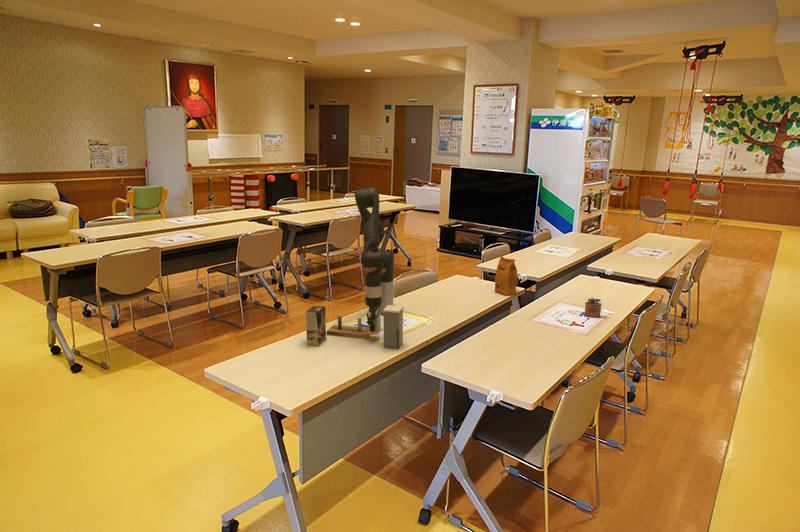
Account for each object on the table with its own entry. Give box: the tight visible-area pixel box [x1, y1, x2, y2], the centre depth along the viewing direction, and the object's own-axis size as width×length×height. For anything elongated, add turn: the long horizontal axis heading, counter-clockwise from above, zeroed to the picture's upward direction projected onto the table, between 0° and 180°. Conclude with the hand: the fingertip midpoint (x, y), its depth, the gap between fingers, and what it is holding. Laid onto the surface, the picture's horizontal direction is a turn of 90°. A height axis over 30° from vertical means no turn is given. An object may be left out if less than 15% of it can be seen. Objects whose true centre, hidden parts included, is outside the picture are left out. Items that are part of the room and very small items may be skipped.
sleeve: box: [366, 314, 382, 336], centre depth 241 cm, size 5×5×8 cm
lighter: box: [583, 297, 603, 319], centre depth 271 cm, size 8×3×10 cm, turn 73°
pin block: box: [326, 315, 371, 340], centre depth 248 cm, size 9×20×8 cm, turn 76°
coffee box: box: [305, 305, 327, 347], centre depth 237 cm, size 9×6×16 cm
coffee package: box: [494, 255, 518, 296], centre depth 312 cm, size 10×12×22 cm
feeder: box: [382, 304, 404, 350], centre depth 233 cm, size 7×7×18 cm
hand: (374, 329), depth 241 cm, fingers closed on sleeve, 5 cm apart
